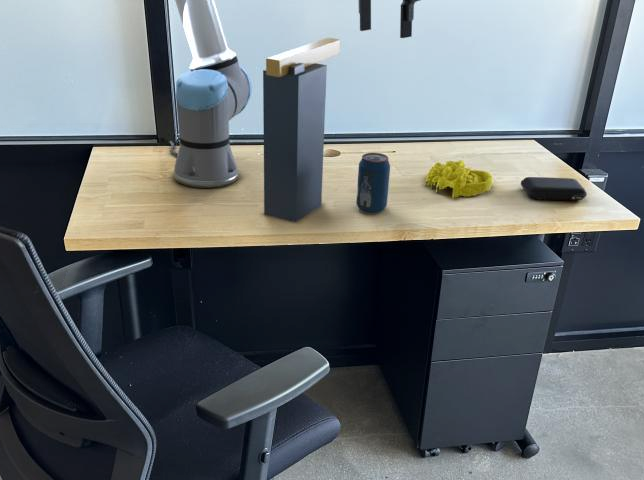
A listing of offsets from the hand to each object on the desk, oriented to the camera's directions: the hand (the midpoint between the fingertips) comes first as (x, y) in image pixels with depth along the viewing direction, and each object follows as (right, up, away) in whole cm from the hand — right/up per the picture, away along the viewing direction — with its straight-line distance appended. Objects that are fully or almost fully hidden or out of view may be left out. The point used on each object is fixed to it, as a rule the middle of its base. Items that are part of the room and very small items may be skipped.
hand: (385, 33), depth 166 cm
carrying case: (+42, -32, +16) cm, 55 cm away
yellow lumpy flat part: (+19, -29, +18) cm, 39 cm away
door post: (-21, -39, 0) cm, 44 cm away
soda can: (-3, -39, +3) cm, 39 cm away
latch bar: (-17, -13, -14) cm, 26 cm away
